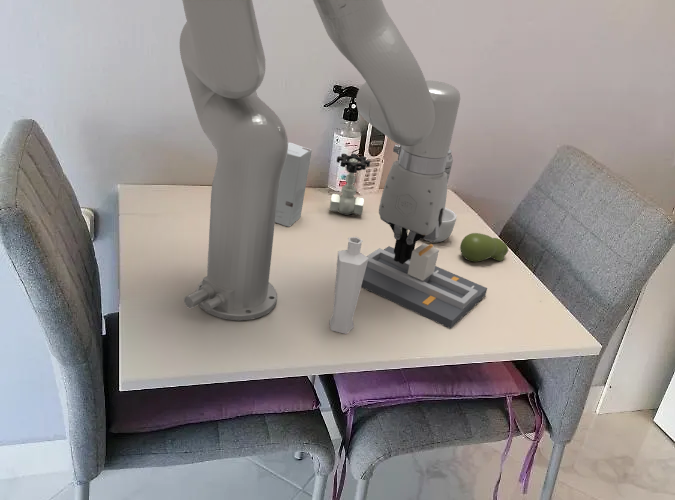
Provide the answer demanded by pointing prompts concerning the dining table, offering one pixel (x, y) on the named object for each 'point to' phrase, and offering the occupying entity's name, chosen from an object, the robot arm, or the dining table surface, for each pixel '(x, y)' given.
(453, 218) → the teacup
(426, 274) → the fader
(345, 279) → the perfume bottle
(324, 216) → the dining table surface
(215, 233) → the robot arm
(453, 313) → the console
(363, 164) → the valve
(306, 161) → the skincare box
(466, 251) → the pear
